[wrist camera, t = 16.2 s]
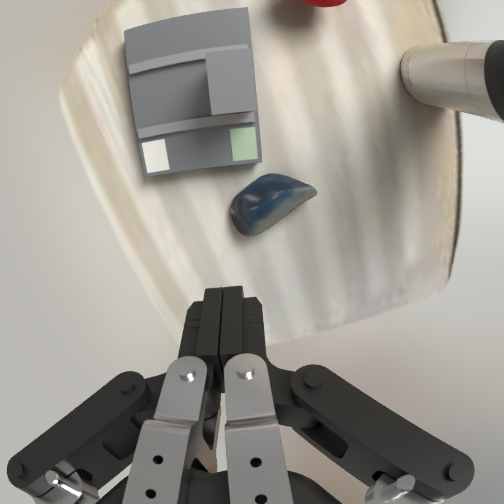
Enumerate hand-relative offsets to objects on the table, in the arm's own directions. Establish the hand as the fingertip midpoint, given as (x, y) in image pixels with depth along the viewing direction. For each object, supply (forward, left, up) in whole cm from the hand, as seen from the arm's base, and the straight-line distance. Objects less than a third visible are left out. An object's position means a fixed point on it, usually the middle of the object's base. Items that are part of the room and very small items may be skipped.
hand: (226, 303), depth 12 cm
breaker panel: (+5, -10, -29) cm, 31 cm away
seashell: (-4, +7, -29) cm, 30 cm away
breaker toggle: (0, -10, -26) cm, 28 cm away
